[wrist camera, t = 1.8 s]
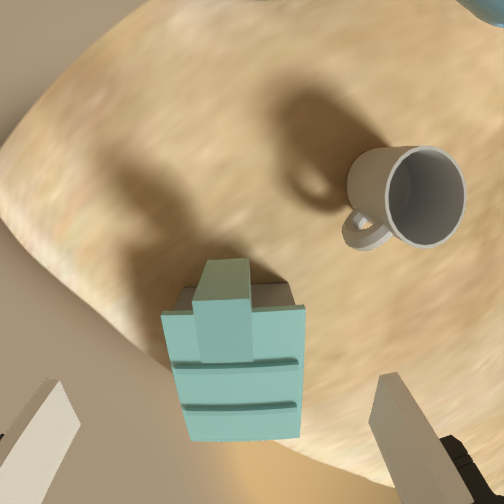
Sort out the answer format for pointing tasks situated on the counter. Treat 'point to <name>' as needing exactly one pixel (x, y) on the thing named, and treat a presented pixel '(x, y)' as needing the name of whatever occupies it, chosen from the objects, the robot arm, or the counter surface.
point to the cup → (404, 197)
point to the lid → (236, 359)
